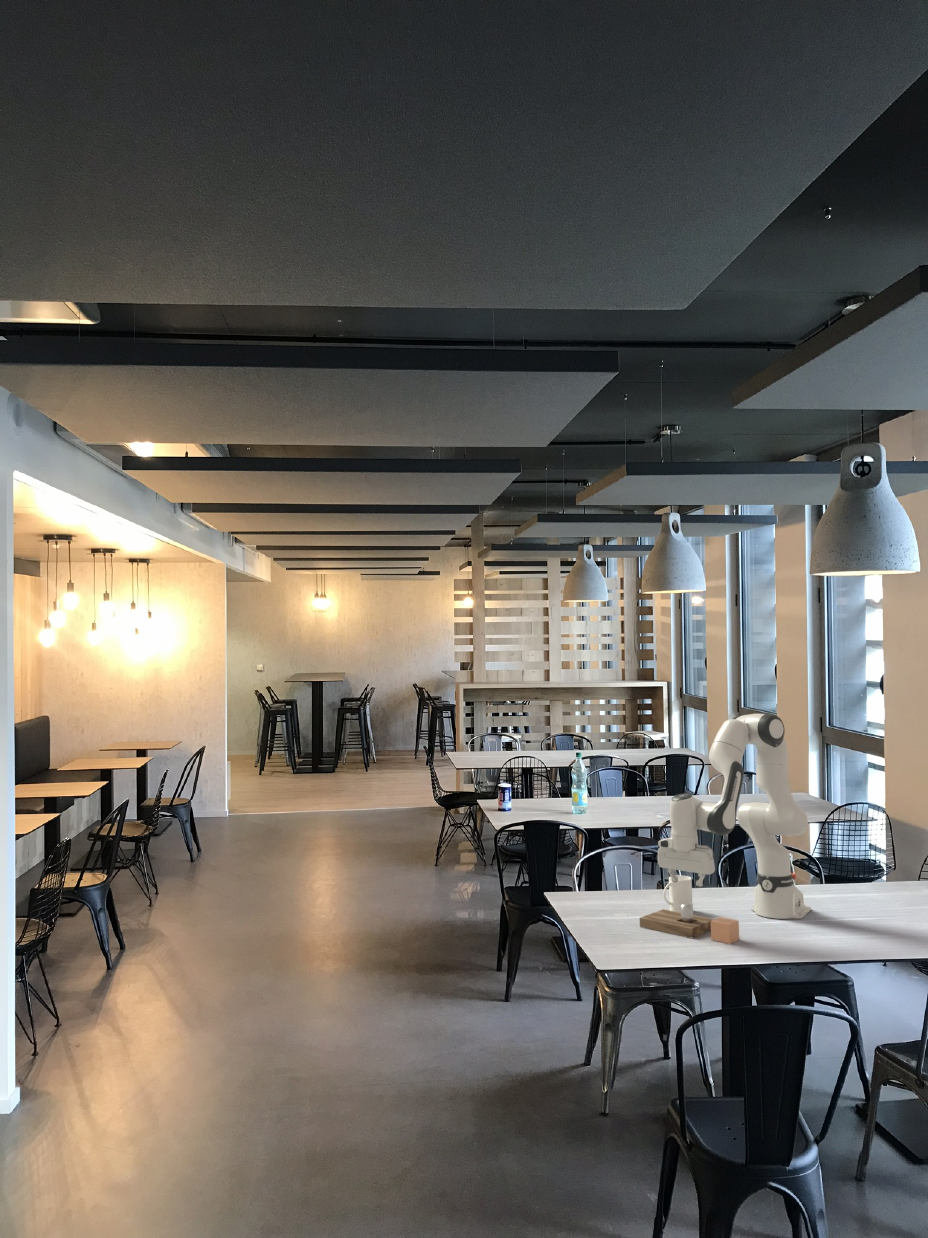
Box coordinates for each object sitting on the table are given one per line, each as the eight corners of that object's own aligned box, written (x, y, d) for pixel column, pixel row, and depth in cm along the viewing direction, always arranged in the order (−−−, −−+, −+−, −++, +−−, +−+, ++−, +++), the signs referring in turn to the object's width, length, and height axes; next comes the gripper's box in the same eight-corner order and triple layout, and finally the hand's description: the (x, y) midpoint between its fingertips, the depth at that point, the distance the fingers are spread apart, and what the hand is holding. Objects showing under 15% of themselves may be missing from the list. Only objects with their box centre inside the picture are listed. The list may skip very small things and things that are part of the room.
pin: (685, 926, 290) (684, 902, 291) (696, 928, 287) (694, 904, 288) (679, 929, 287) (678, 904, 288) (689, 931, 284) (688, 906, 285)
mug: (670, 916, 305) (668, 882, 306) (657, 910, 313) (655, 877, 314) (698, 913, 308) (696, 879, 309) (684, 907, 316) (683, 874, 317)
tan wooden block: (721, 935, 280) (720, 917, 280) (739, 939, 275) (738, 920, 276) (711, 940, 275) (710, 921, 276) (729, 944, 271) (728, 924, 271)
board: (664, 918, 302) (663, 909, 303) (715, 928, 288) (714, 919, 288) (639, 926, 292) (639, 917, 292) (691, 938, 278) (691, 928, 278)
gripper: (717, 844, 284) (719, 886, 284) (664, 838, 299) (666, 878, 298) (707, 848, 280) (709, 890, 279) (654, 841, 295) (656, 881, 294)
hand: (687, 884), depth 289 cm, fingers open, 8 cm apart
